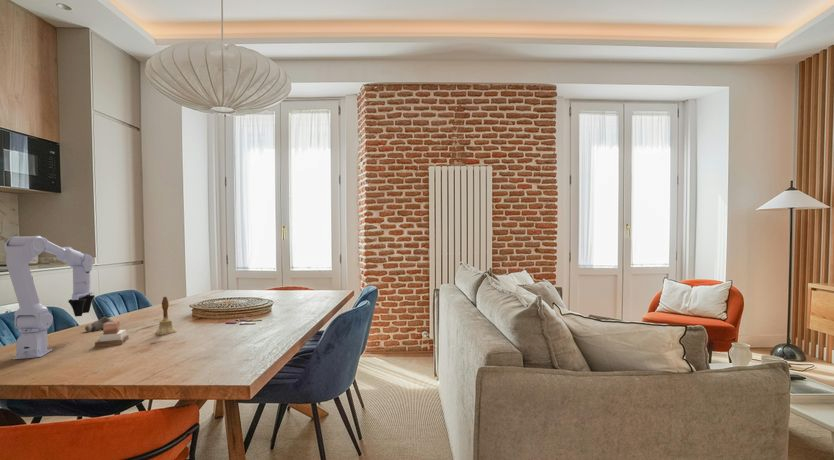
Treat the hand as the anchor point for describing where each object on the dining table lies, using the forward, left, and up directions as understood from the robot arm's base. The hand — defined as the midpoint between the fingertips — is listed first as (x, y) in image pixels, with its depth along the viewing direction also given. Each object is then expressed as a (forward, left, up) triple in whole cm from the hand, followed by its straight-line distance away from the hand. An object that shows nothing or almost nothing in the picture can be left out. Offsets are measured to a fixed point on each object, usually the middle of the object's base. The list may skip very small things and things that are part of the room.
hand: (82, 314), depth 176 cm
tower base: (-12, -14, -11) cm, 22 cm away
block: (-12, -14, -6) cm, 19 cm away
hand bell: (-1, -31, -11) cm, 33 cm away
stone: (+18, -1, -11) cm, 21 cm away
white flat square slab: (-12, -14, -9) cm, 20 cm away
